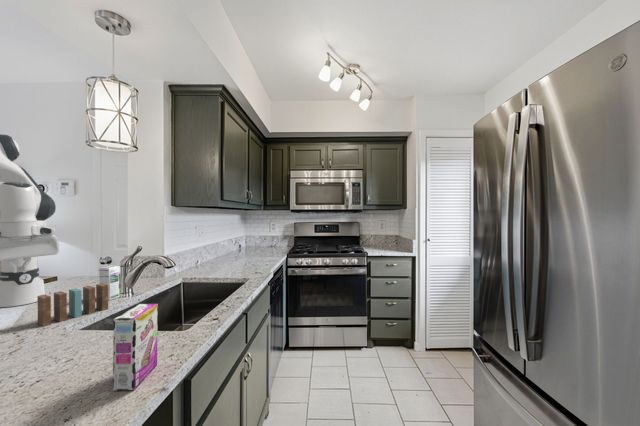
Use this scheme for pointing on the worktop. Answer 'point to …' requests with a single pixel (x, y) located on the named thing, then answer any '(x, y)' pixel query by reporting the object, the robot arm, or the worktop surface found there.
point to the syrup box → (111, 280)
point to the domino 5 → (102, 296)
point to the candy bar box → (134, 346)
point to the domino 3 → (75, 303)
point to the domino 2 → (60, 306)
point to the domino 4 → (89, 299)
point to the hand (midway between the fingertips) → (19, 271)
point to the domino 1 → (44, 310)
